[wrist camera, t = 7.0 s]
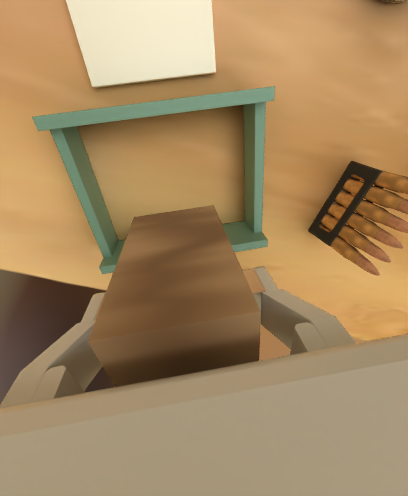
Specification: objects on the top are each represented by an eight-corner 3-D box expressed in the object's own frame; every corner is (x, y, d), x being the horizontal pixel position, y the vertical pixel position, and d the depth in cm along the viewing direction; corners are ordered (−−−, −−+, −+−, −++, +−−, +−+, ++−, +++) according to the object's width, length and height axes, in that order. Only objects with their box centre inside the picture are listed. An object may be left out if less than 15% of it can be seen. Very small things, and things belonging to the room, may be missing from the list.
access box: (252, 92, 24) (274, 86, 19) (251, 225, 32) (267, 246, 27) (63, 116, 23) (32, 116, 18) (113, 248, 31) (102, 274, 26)
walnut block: (213, 205, 13) (260, 311, 6) (219, 268, 15) (257, 396, 8) (134, 217, 12) (87, 341, 6) (152, 279, 15) (135, 419, 8)
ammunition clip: (317, 233, 35) (379, 283, 24) (307, 230, 34) (366, 280, 24) (361, 165, 30) (461, 190, 20) (351, 160, 29) (448, 184, 19)
